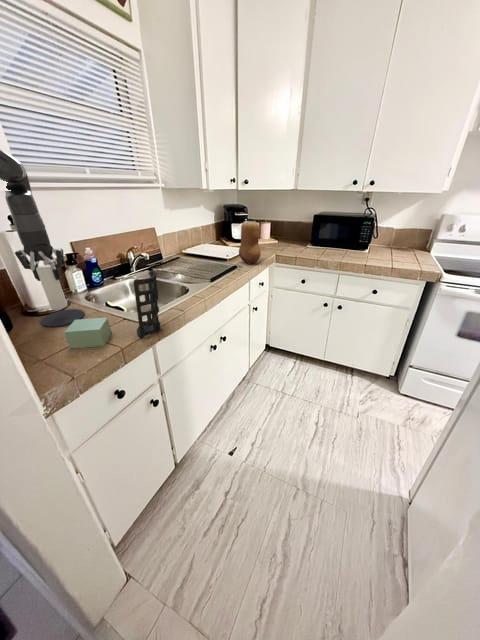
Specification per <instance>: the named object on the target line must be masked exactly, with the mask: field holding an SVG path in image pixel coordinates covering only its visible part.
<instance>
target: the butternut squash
mask: <svg viewBox="0 0 480 640" xmlns="http://www.w3.org/2000/svg"><path fill="white" fill-rule="evenodd" d="M260 233H261V227H260V224H259V223H258V222H256V221H252V220H245V221H243V222H242V223H241V226H240V246H239V249H238V255H239V257H240V260H241V261H242V262H244V263H245V264H247V265H252V264H255V263H256V262H258V260H259V259H260V258H261V254H262V253H261V251H262V250H261V248H260V244H259V240H260V236H261V235H260ZM248 263H250V264H248Z"/></svg>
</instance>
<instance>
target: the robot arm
mask: <svg viewBox="0 0 480 640" xmlns="http://www.w3.org/2000/svg"><path fill="white" fill-rule="evenodd" d="M1 180H3V181H6V182H8V183H7V186H6V188H7V189H8V190H11V191H5V190H4V193H5V194H4V197H5V201H6V204H7V207H8V209H9V212H10V214H11V218H12V219H11V220H12V222H13V226H14V228H15V231H16V233H17V235H18V239H19V241H20V243H21V245H22V247H23V248H22V249H18V250H16V251H15V252H14V254H15V256H16V258H17V259H18V261H19V263H20V265H22V268H24V269H25V270H31V272H32V274H33V277H34V278H35V280H36V281H37V282H41V281H40V278H39V276H38V273H37V271H36V267H39V266H40V262H45V263H46V265H50V266H51V267H52V269H54V270H53V273H54V276H55V279H56V280H59V281H60V280H61V279H62V276H63V275H62V272H61V268H62V267H64V266H65V256H64V249H63V248H54V247H53V246H52V244H51V241H50V238H49V235H48V232H47V229H46V225H45V223H44V220H43V218H42V216H41V214H40V211H39V208H38V206H37V203H36V200H35V197H34V194H33V192H32V187H31V183H30V179H29V175H28V173H27V170H26V167H25V166H24V164H23V163H22V162H21V161H20V160H18V159H17V158H15V157H13V156H11V155H9V154H8V153H6V152H5V151H3V150H2V149H0V181H1ZM53 254H54V256H56V257H54V256H53ZM27 256H28V257H29V259H28V257H27Z"/></svg>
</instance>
